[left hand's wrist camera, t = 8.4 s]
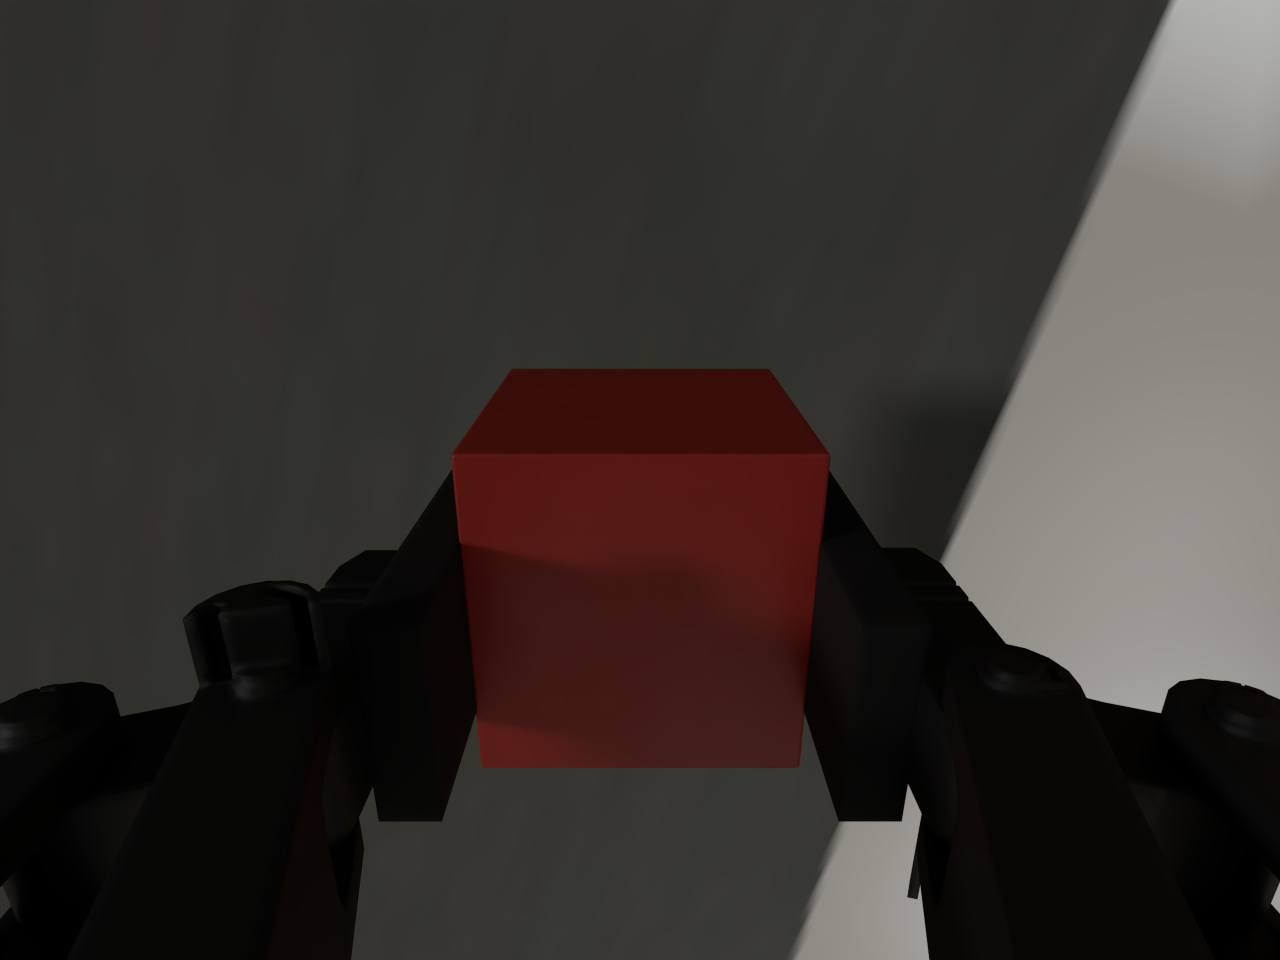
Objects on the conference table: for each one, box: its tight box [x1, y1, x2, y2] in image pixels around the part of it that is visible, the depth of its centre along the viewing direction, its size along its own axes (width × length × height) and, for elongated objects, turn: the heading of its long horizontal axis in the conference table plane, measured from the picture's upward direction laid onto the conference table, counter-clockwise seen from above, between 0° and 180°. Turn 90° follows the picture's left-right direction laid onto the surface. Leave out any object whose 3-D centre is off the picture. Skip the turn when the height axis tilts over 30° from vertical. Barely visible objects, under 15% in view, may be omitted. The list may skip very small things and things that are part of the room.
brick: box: [451, 369, 830, 768], centre depth 12 cm, size 5×5×5 cm
